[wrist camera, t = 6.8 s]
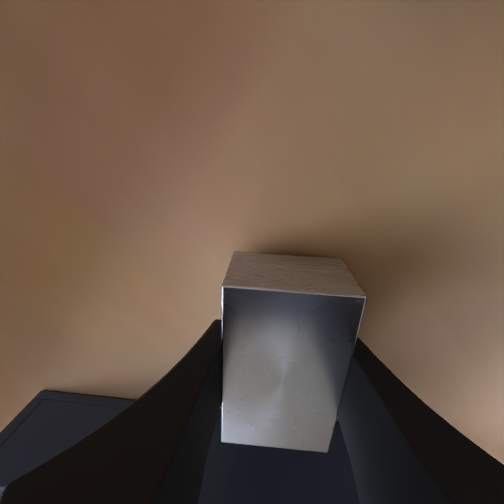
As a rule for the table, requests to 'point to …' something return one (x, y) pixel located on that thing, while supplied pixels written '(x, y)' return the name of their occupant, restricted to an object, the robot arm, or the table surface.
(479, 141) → the table surface
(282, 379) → the silver metal block
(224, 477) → the box
